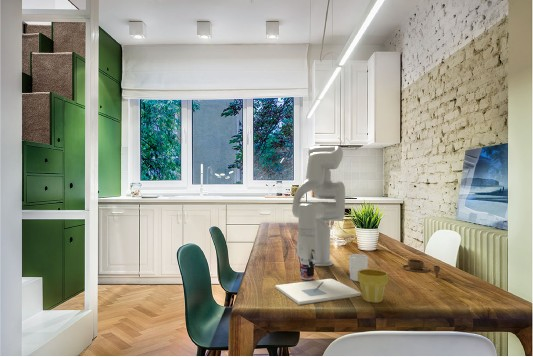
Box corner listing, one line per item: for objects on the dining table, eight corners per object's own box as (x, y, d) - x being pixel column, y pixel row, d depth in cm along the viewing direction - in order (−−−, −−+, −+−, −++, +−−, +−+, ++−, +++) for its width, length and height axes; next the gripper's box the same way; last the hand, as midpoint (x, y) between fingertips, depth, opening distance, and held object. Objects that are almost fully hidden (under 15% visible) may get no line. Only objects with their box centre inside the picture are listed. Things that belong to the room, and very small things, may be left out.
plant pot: (364, 293, 133) (364, 267, 133) (392, 299, 127) (392, 271, 127) (352, 300, 125) (352, 272, 125) (381, 307, 119) (381, 277, 119)
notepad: (275, 287, 139) (275, 285, 139) (331, 280, 149) (331, 278, 149) (298, 304, 121) (298, 301, 121) (361, 295, 130) (361, 292, 130)
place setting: (434, 269, 171) (434, 257, 171) (442, 281, 152) (442, 267, 152) (395, 266, 176) (395, 255, 176) (398, 277, 157) (399, 264, 157)
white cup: (354, 282, 147) (354, 258, 147) (345, 277, 154) (345, 254, 154) (371, 281, 149) (371, 257, 149) (361, 276, 156) (361, 253, 156)
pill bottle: (298, 278, 153) (298, 255, 153) (305, 275, 156) (306, 253, 156) (307, 280, 149) (307, 257, 149) (315, 278, 152) (315, 255, 152)
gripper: (290, 229, 159) (290, 270, 159) (309, 235, 143) (309, 280, 143) (305, 228, 162) (305, 268, 162) (325, 234, 146) (325, 278, 146)
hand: (306, 273), depth 153 cm, fingers closed on pill bottle, 5 cm apart
